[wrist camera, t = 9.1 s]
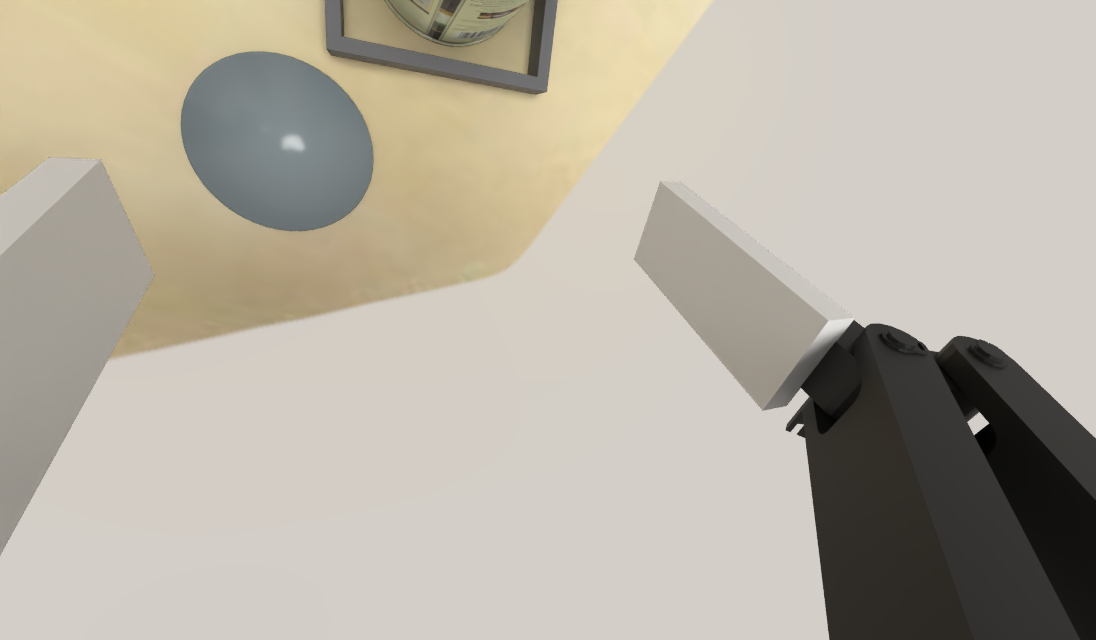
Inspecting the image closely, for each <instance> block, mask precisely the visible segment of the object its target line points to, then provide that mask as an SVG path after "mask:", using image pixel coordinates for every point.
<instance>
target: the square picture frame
mask: <svg viewBox="0 0 1096 640" xmlns="http://www.w3.org/2000/svg"><path fill="white" fill-rule="evenodd" d="M557 1H558V0H535V9H534V19H533V29H532V38H531V48H530V58H529V68H528V75H525V74H521V73H516V72H511V71H506V70H501V69H496V68H492V67H487V66H482V65H477V64H472V63H467V62H463V61H458V60H453V59H448V58H443V57H438V56H434V55H429V54H424V53H419V52H414V51H409V50H405V49H400V48H395V47H390V46H385V45H380V44H376V43H371V42H366V41H361V40H356V39H352V38H347V37H344V16H343V0H325V15H326V41H327V50H328V51H329V53H330V54H331V55H333V56H338V57H343V58H348V59H354V60H359V61H364V62H369V63H375V64H380V65H385V66H390V67H395V68H401V69H406V70H411V71H416V72H421V73H427V74H432V75H437V76H442V77H447V78H453V79H458V80H463V81H468V82H474V83H479V84H484V85H489V86H494V87H500V88H505V89H510V90H515V91H520V92H526V93H531V94H540V93H544V92H547V86H548V77H549V69H550V60H551V52H552V43H553V35H554V26H555V18H556V9H557Z"/></svg>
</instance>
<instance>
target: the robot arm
mask: <svg viewBox="0 0 1096 640" xmlns="http://www.w3.org/2000/svg"><path fill="white" fill-rule="evenodd" d="M634 260H635V261H636V262H637V263H638V264H639V266H641V268H642V269H643V270H644V271H645V273H646V274H647V275H648V276H649V277H650V279H651V280H652V281H653V282H654V283H655V284H656V286H657V287H658V288H659V289H660V290H661V292H662V293H663V294H664V295H665V296H666V297H667V299H668V300H669V301H670V302H671V303H672V304H673V306H674V307H675V308H676V309H677V310H678V312H679V313H680V314H681V315H682V316H683V317H684V319H685V320H686V321H687V322H688V323H689V324H690V326H691V327H692V328H693V329H694V330H695V331H696V333H697V334H698V335H699V336H700V337H701V339H702V340H703V341H704V342H705V343H706V344H707V346H708V347H709V348H710V349H711V350H712V352H713V353H714V354H715V355H716V356H717V357H718V358H719V360H720V361H721V362H722V363H723V364H724V366H725V367H726V368H727V369H728V370H729V371H730V373H731V374H732V375H733V376H734V377H735V379H736V380H737V381H738V382H739V383H740V384H741V386H742V387H743V388H744V389H745V390H746V391H747V393H748V394H749V395H750V396H751V397H752V398H753V400H754V401H755V402H756V403H757V404H758V406H759V407H760V408H761V409H762V410H768V409H773V408H778V407H783V406H787V405H788V403H789V402H790V401H791V400H792V398H793V397H794V396H795V394H796V393H797V392H798V391H799V389H800V388H802V389H803V390H804V391H805V392H806V393H807V394H808V395H809V396H810V397H809V398H808V399H807V400H806V401H805V403H804V404H803V405H802V406H801V408H800V409H799V410H798V411H797V413H796V414H795V415H794V416H793V417H792V419H791V420H790V421H789V422H788V424H787V427H786V431H789V432H791V431H792V429H793V428H794V427H795V426H796V425H797V424H804V426H803V427H802V429H801V430H800V431H799V432H798V433H797V435H799V436H802V437H804V438H805V439H806V448H807V456H808V464H809V473H810V481H811V488H812V497H813V506H814V513H815V523H816V531H817V539H818V547H819V556H820V564H821V572H822V581H823V589H824V597H825V606H826V614H827V622H828V631H829V639H830V640H1096V438H1095V437H1093V436H1092V435H1091V434H1090V433H1089V432H1088V431H1087V430H1086V429H1085V428H1084V427H1083V426H1082V425H1081V424H1080V423H1079V422H1078V421H1077V420H1076V419H1075V418H1074V417H1073V416H1072V415H1070V413H1068V412H1067V411H1066V410H1065V409H1064V408H1063V407H1062V406H1061V405H1060V404H1059V403H1058V402H1057V401H1056V400H1055V399H1054V398H1053V397H1052V396H1051V395H1050V394H1049V393H1048V392H1047V391H1046V390H1044V389H1043V388H1042V387H1041V386H1040V385H1039V384H1038V383H1037V382H1036V381H1035V380H1034V379H1033V378H1032V377H1031V376H1030V375H1029V374H1028V373H1027V372H1025V370H1024V369H1023V368H1022V367H1021V366H1019V365H1018V364H1017V363H1016V362H1015V361H1014V360H1013V359H1011V358H1010V357H1009V356H1008V355H1006V354H1005V353H1004V352H1003V351H1002V350H1000V349H998V347H996V346H994V345H992V344H990V343H989V344H988V343H987V342H986V341H983V340H977V339H973V338H970V337H965V336H957V337H954V338H953V339H952V340H951V341H950V342H949V343H948V344H947V345H946V346H945V347H944V348H943V349H942V350H941V351H940V352H934V351H929V350H928V349H927V347H926V346H925V345H924V344H923V343H922V342H920V341H918V340H917V339H916V338H914V337H912V336H911V335H909V334H907V333H905V332H903V331H901V330H899V329H896V328H894V327H891V326H888V325H883V324H870V325H868V326H867V327H866V328H864V327H862V326H861V325H860V324H858V323H857V322H856V321H854V319H855V317H854V316H852V315H851V314H850V313H848V312H847V311H846V310H845V309H843V308H842V307H841V306H840V305H838V304H837V303H836V302H834V301H833V300H832V299H831V298H829V297H828V296H826V295H825V294H824V293H823V292H822V291H820V290H819V289H818V288H816V287H815V286H814V285H813V284H811V283H810V282H809V281H807V280H806V279H805V278H804V277H802V276H801V275H800V274H798V273H797V272H796V271H795V270H793V269H792V268H791V267H789V266H788V265H787V264H786V263H784V262H783V261H782V260H780V259H779V258H778V257H776V256H775V255H774V254H773V253H771V252H770V251H769V250H768V249H766V248H765V247H764V246H762V245H761V244H760V243H758V242H757V241H756V240H755V239H753V238H752V237H751V236H749V235H748V234H747V233H746V232H744V231H743V230H742V229H740V228H739V227H738V226H737V225H735V224H734V223H733V222H732V221H730V220H729V219H728V218H727V217H725V216H724V215H722V214H721V213H720V212H719V211H718V210H716V209H715V208H714V207H712V206H711V205H710V204H709V203H707V202H706V201H705V200H703V199H702V198H701V197H700V196H698V195H697V194H696V193H694V192H693V191H692V190H691V189H689V188H688V187H687V186H685V185H684V184H683V183H681V182H663V181H661V182H660V184H659V187H658V190H657V192H656V195H655V198H654V201H653V204H652V207H651V210H650V213H649V216H648V219H647V222H646V225H645V228H644V231H643V234H642V237H641V240H640V243H639V246H638V249H637V251H636V255H635V258H634ZM153 277H154V273H153V271H152V269H151V266H150V264H149V262H148V260H147V258H146V256H145V253H144V251H143V249H142V247H141V245H140V243H139V240H138V238H137V236H136V234H135V232H134V230H133V227H132V225H131V223H130V221H129V219H128V217H127V214H126V212H125V210H124V208H123V206H122V204H121V201H120V199H119V197H118V195H117V193H116V191H115V188H114V186H113V184H112V182H111V180H110V178H109V175H108V173H107V171H106V169H105V167H104V165H103V162H102V160H101V159H80V158H55V157H49V158H48V159H47V160H45V161H44V162H43V163H41V164H40V165H39V166H38V167H36V168H35V169H34V170H32V171H31V172H30V173H29V174H27V175H26V176H25V177H24V178H22V179H21V180H20V181H18V182H17V183H16V184H15V185H13V186H12V187H11V188H9V189H8V190H7V191H6V192H4V193H3V194H2V195H1V196H0V555H1V553H2V551H3V549H4V547H5V546H6V544H7V542H8V540H9V538H10V537H11V535H12V533H13V531H14V529H15V527H16V526H17V524H18V522H19V520H20V518H21V517H22V515H23V513H24V511H25V509H26V507H27V506H28V504H29V502H30V500H31V498H32V497H33V495H34V493H35V491H36V489H37V487H38V486H39V484H40V482H41V480H42V479H43V477H44V475H45V473H46V471H47V469H48V467H49V466H50V464H51V462H52V460H53V459H54V456H55V455H56V453H57V451H58V449H59V448H60V446H61V444H62V442H63V440H64V439H65V437H66V435H67V433H68V431H69V430H70V428H71V426H72V424H73V422H74V420H75V419H76V417H77V415H78V413H79V411H80V410H81V408H82V406H83V404H84V402H85V400H86V399H87V397H88V395H89V393H90V391H91V390H92V388H93V386H94V384H95V382H96V381H97V379H98V377H99V375H100V373H101V372H102V370H103V368H104V366H105V364H106V362H107V361H108V359H109V357H110V355H111V353H112V352H113V350H114V348H115V346H116V344H117V343H118V341H119V339H120V337H121V335H122V333H123V332H124V330H125V328H126V326H127V324H128V323H129V321H130V319H131V317H132V315H133V314H134V312H135V310H136V308H137V306H138V304H139V303H140V301H141V299H142V297H143V295H144V294H145V292H146V290H147V288H148V286H149V284H150V283H151V281H152V279H153ZM979 412H980V413H981V414H982V415H983V416H984V418H985V419H986V420H987V421H988V422H989V424H988V425H987V426H985V427H984V428H983V429H982V430H980V431H979V432H978V433H977V434H975V435H973V433H972V431H971V429H970V427H969V425H968V423H967V422H968V421H969V420H970V419H971V418H973V417H974V416H975V415H976V414H978V413H979Z"/></svg>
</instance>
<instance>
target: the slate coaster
mask: <svg viewBox="0 0 1096 640" xmlns="http://www.w3.org/2000/svg"><path fill="white" fill-rule="evenodd" d="M181 133H182V139H183V144H184V148H185V151H186V154H187V156H188V159H189V161H190V163H191V165H192V167H193V169H194V171H195V173H196V174H197V176H198V177H199V179H200V180H201V182H202V183H203V184H204V185H205V187H206V188H207V189H208V190H209V191H210V192H211V193H212V194H213V195H214V196H215V197H216V198H217V199H218V200H219V201H220V202H221V203H223V204H224V205H225V206H226V207H228V208H229V209H230V210H232V211H233V212H235V213H237V214H238V215H240V216H242V217H244V218H246V219H248V220H250V221H252V222H254V223H257V224H260V225H263V226H266V227H270V228H274V229H279V230H287V231H305V230H313V229H317V228H321V227H325V226H327V225H330V224H332V223H334V222H336V221H338V220H340V219H342V218H343V217H344V216H346V215H347V214H348V213H350V212H351V211H352V210H353V209H354V208H355V207H356V206H357V204H358V203H359V202H360V200H361V199H362V198H363V196H364V194H365V192H366V190H367V188H368V185H369V182H370V180H371V175H372V170H373V147H372V142H371V137H370V134H369V131H368V128H367V125H366V123H365V121H364V119H363V117H362V115H361V113H360V111H359V110H358V108H357V107H356V105H355V103H354V102H353V101H352V100H351V98H350V97H349V96H348V95H347V93H346V92H345V91H344V90H343V89H342V88H341V87H340V86H339V85H338V84H337V83H336V82H334V81H333V80H332V79H331V78H330V77H328V76H327V75H326V74H324V73H323V72H321V71H320V70H318V69H317V68H315V67H313V66H311V65H309V64H307V63H305V62H303V61H301V60H298V59H295V58H293V57H290V56H286V55H282V54H278V53H271V52H245V53H239V54H235V55H232V56H228V57H225V58H223V59H221V60H219V61H217V62H215V63H213V64H212V65H211V66H209V67H208V68H206V69H205V70H204V71H203V72H202V73H201V74H200V75H199V76H198V77H197V78H196V79H195V81H194V82H193V84H192V85H191V87H190V88H189V91H188V93H187V95H186V97H185V100H184V104H183V108H182V114H181Z"/></svg>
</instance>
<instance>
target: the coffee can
mask: <svg viewBox="0 0 1096 640" xmlns="http://www.w3.org/2000/svg"><path fill="white" fill-rule="evenodd" d="M385 1H386V3H387V4H388V6H389V7H390V8H391V9H392V11H393V12H394V13H395V15H396V16H397V17H398V18H399V19H400V20H401V21H403V22H404V23H405V24H406V25H407V26H408V27H409V28H410V29H412V30H413V31H415V32H416V33H417V34H419V35H420V36H422V37H424V38H426V39H428V40H430V41H433V42H436V43H438V44H442V45H447V46H452V47H455V46H469V45H474V44H477V43H480V42H482V41H484V40H486V39H488V38H490V37H491V36H493V35H494V34H496V33H497V32H498V31H499V30H500V29H501V28H503V27H504V25H505V24H506V23H507V21H508V20H510V19H511V18H512V17H513V16H514V15H515V14H516V13H517V12H518V11H520V10H521V9H522V8H523V7H524V6H525V5H526V4H527V3H528V2H529V1H531V0H385Z"/></svg>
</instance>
